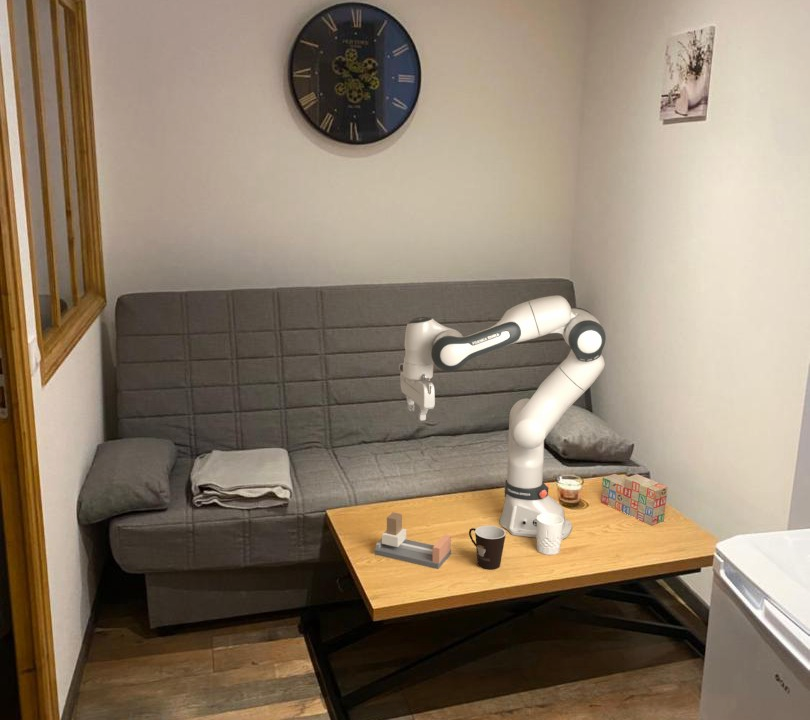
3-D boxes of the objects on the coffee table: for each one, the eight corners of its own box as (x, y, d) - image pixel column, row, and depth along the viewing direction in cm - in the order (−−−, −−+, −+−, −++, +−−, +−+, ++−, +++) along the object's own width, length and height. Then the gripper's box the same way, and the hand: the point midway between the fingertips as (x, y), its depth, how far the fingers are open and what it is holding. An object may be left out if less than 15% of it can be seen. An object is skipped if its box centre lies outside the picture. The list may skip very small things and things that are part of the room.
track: (451, 553, 238) (451, 535, 236) (438, 569, 229) (438, 549, 227) (388, 540, 246) (389, 521, 244) (374, 554, 237) (374, 535, 235)
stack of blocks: (600, 503, 275) (603, 468, 272) (612, 499, 279) (615, 465, 276) (651, 526, 258) (655, 490, 255) (664, 521, 262) (668, 486, 259)
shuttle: (406, 538, 241) (406, 513, 239) (397, 547, 235) (398, 521, 233) (390, 535, 243) (391, 510, 241) (382, 543, 237) (382, 518, 235)
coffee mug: (509, 569, 229) (510, 537, 227) (480, 573, 227) (481, 540, 224) (493, 550, 240) (494, 519, 238) (465, 554, 238) (466, 522, 235)
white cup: (532, 553, 239) (534, 521, 237) (537, 542, 246) (539, 511, 244) (559, 558, 236) (561, 526, 234) (563, 546, 244) (566, 515, 241)
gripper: (441, 379, 236) (439, 424, 239) (416, 362, 254) (414, 404, 258) (420, 380, 233) (418, 426, 237) (397, 363, 252) (395, 405, 255)
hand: (416, 414), depth 247 cm, fingers open, 8 cm apart
